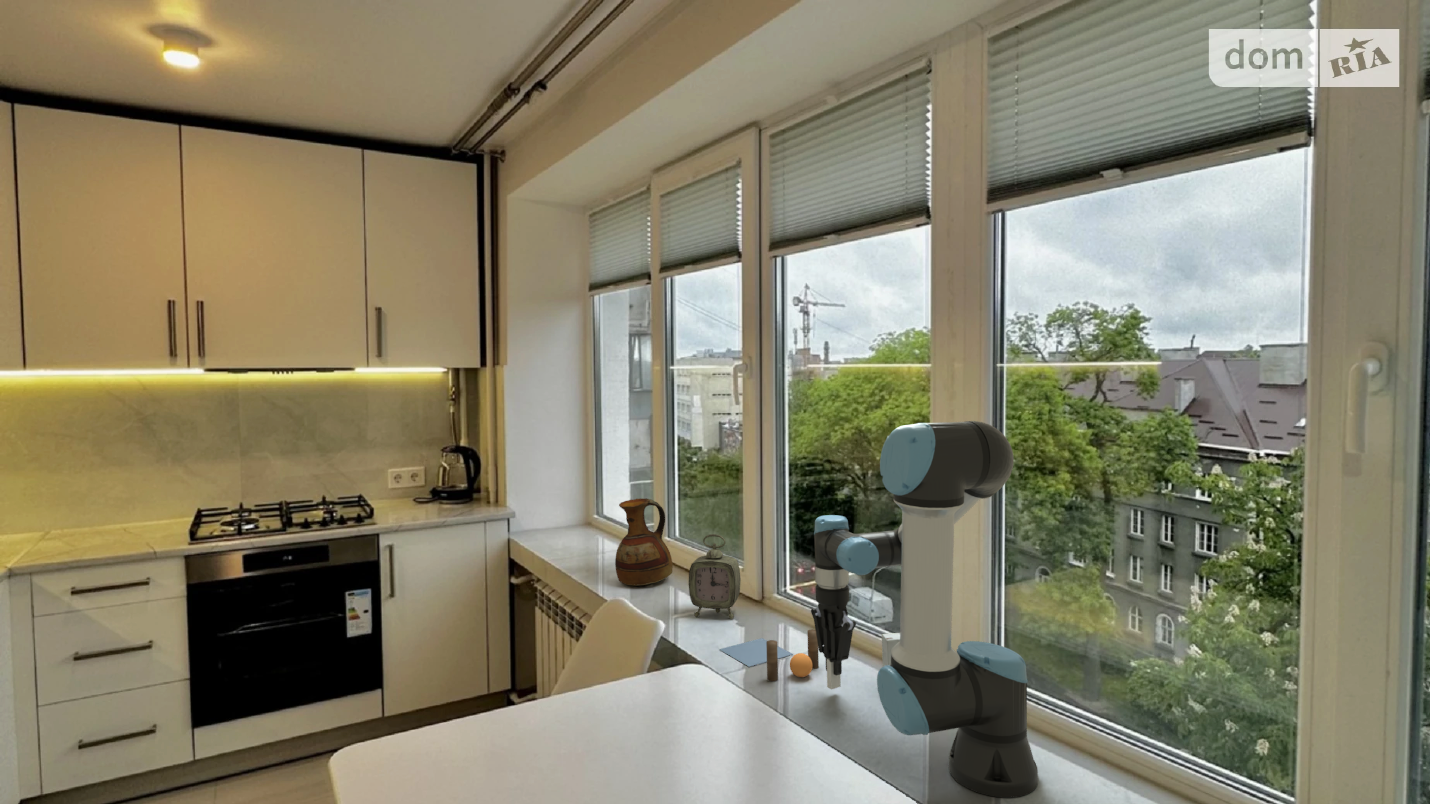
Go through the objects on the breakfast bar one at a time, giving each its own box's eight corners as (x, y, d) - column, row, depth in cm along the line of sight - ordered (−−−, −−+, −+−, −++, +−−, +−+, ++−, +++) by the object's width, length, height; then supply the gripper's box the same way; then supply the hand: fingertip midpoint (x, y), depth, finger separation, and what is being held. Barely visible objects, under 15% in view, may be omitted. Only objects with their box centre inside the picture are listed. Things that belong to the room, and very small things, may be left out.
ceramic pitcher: (609, 579, 265) (606, 497, 264) (661, 571, 274) (659, 491, 272) (626, 593, 247) (623, 505, 246) (681, 585, 256) (679, 499, 255)
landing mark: (793, 654, 191) (793, 654, 191) (749, 667, 184) (749, 666, 184) (762, 638, 203) (762, 638, 203) (719, 649, 196) (719, 649, 196)
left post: (780, 679, 176) (779, 642, 176) (771, 682, 175) (770, 645, 174) (773, 675, 178) (773, 639, 178) (765, 678, 177) (764, 641, 176)
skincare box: (906, 681, 173) (906, 631, 173) (913, 690, 169) (913, 638, 168) (881, 683, 173) (880, 632, 172) (887, 691, 168) (887, 639, 168)
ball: (809, 677, 180) (820, 669, 176) (791, 682, 177) (802, 675, 173) (800, 655, 182) (810, 647, 178) (782, 660, 179) (792, 652, 175)
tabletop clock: (689, 618, 221) (687, 536, 220) (697, 609, 229) (695, 530, 228) (736, 621, 217) (734, 538, 216) (742, 611, 226) (740, 531, 225)
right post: (820, 667, 183) (820, 631, 182) (812, 669, 181) (812, 633, 181) (814, 663, 185) (813, 628, 184) (806, 666, 183) (805, 630, 183)
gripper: (864, 588, 162) (866, 693, 163) (826, 575, 173) (827, 673, 174) (838, 594, 158) (840, 701, 159) (801, 580, 169) (802, 680, 170)
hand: (833, 686), depth 167 cm, fingers closed
